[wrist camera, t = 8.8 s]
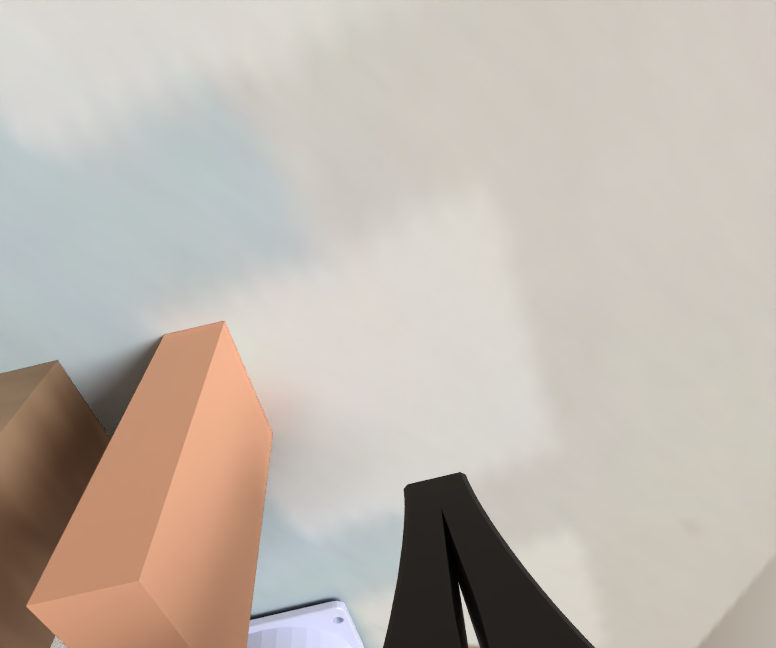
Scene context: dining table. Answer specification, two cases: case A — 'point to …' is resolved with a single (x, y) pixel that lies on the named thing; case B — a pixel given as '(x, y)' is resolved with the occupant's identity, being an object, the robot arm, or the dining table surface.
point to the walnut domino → (39, 485)
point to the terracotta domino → (168, 511)
